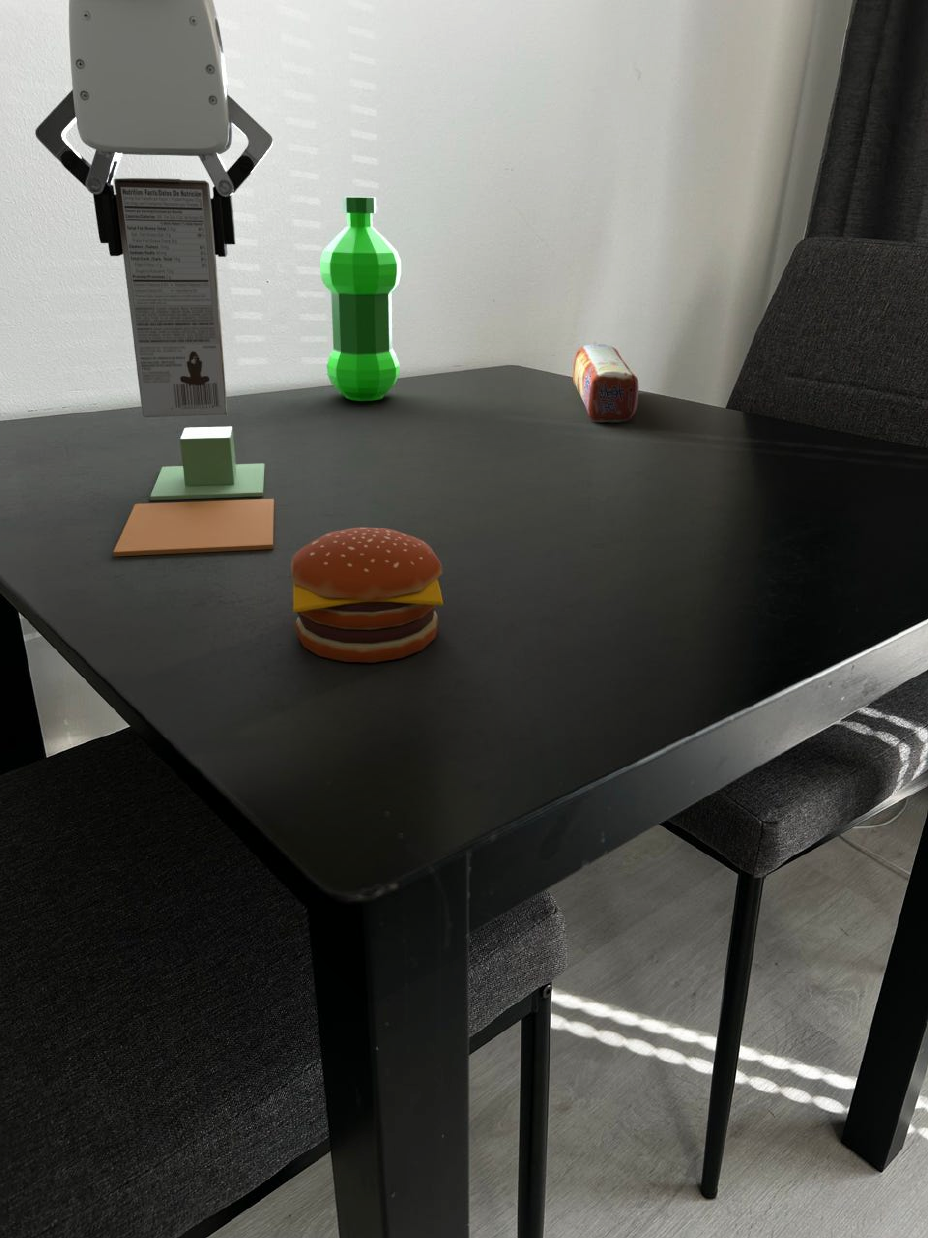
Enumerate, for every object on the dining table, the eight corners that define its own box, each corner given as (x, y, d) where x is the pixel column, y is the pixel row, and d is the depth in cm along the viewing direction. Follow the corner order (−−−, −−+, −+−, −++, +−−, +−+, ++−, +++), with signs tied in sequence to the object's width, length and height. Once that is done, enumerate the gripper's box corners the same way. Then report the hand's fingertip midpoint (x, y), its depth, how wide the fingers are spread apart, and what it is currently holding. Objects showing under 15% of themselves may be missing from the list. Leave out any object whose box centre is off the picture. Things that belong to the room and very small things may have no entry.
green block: (185, 486, 85) (179, 438, 83) (189, 473, 89) (184, 427, 87) (234, 484, 86) (230, 437, 84) (236, 471, 90) (232, 426, 88)
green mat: (150, 500, 82) (149, 496, 82) (162, 470, 91) (162, 466, 91) (263, 496, 84) (262, 492, 84) (264, 467, 93) (264, 463, 93)
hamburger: (297, 673, 54) (289, 568, 51) (294, 607, 62) (287, 514, 59) (454, 661, 55) (455, 558, 52) (430, 598, 64) (430, 507, 61)
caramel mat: (113, 556, 70) (112, 551, 70) (135, 507, 81) (135, 503, 80) (273, 549, 72) (272, 544, 72) (273, 502, 83) (273, 498, 82)
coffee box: (144, 393, 75) (118, 177, 68) (224, 391, 77) (206, 180, 70) (141, 418, 67) (111, 175, 60) (230, 415, 69) (211, 179, 62)
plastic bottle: (417, 396, 126) (416, 198, 116) (361, 408, 119) (354, 197, 108) (367, 386, 132) (362, 196, 122) (311, 396, 125) (300, 195, 114)
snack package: (637, 425, 113) (643, 369, 110) (584, 423, 113) (588, 368, 110) (616, 391, 132) (621, 343, 130) (571, 390, 133) (574, 341, 130)
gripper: (273, -19, 64) (289, 253, 72) (11, -34, 62) (56, 251, 69) (272, -43, 58) (290, 259, 65) (-21, -61, 55) (33, 257, 62)
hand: (170, 252), depth 67 cm, fingers closed on coffee box, 6 cm apart
